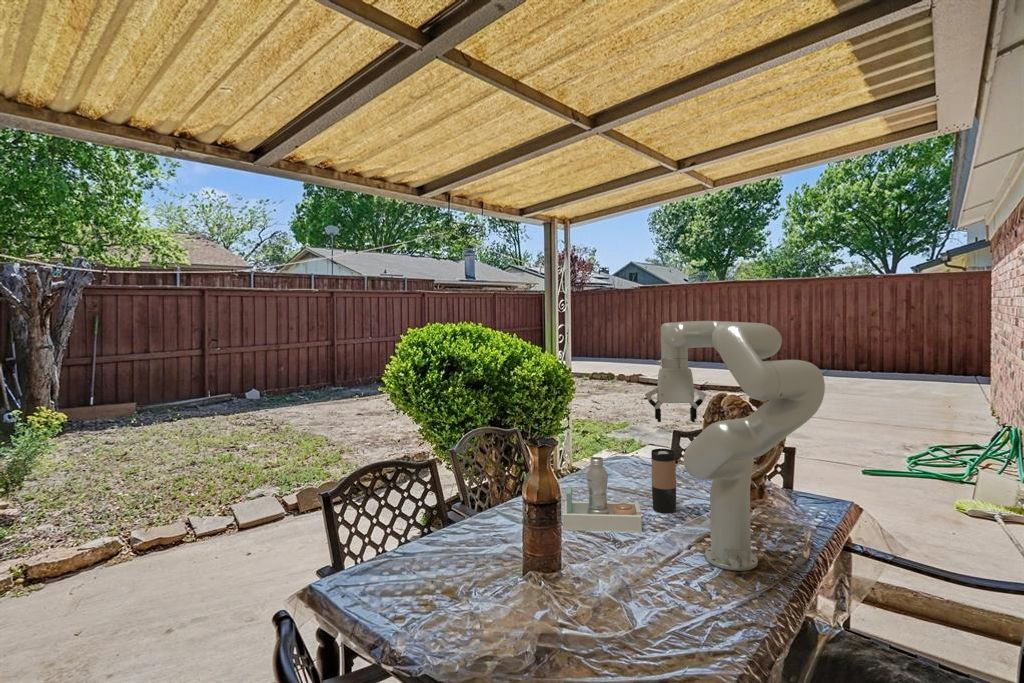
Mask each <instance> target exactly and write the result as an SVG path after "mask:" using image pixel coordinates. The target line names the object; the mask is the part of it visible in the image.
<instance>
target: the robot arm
mask: <svg viewBox="0 0 1024 683" xmlns="http://www.w3.org/2000/svg"><path fill="white" fill-rule="evenodd" d="M782 340H783V339H782V335H781V333H780V332H779V331H778V329H776V328H775V327H774V326H772V325H770V324H767V323H762V322H761V323H760V322H746V321H745V322H742V321H729V320H726V321H724V320H723V321H721V320H720V321H718V320H695V321H694V320H693V321H692V320H691V321H677V322H664V323H663V324H662V325H661V327H660V346H661V348H660V351H661V352H660V353H661V355H660V356H661V357H660V359H658V360H655V362H656V366H660V367H661V368H659V369H658V370H659V371H658V375H657V376H658V377H657V387H656V388H654V389H652V390H650V391H647V392H646V393H645V398H646V399H647V401H648V402H649V404H650V405H651V406H652V407H653V408H654V418H655V420H656V421H657V423H662V411H661V406H662V405H663V404H689V405H691V406H690V408H689V410H690V411H689V412H690V413H689V415H690V419H689V420H690V421H691V422H692V423H696V420H697V419H698V418H697V417H698V415H697V414H698V413H697V411H698V410H697V409H698V408H699V407H700V406H701V405H702V404H703V402H704V400H705V398H706V396H707V394H706V393H705V392H704V391H701V390H699V389H697V388H695V386H694V385H695V384H694V378H693V373H692V372H693V371H692V368H689V354H688V353H689V349H694V348H696V349H697V348H714V350H715V351H717V353H719V356H720V358H721V360H722V362H723V364H725V366H726V368H727V369H728V371H729V372H730V373H731V375H732V376H733V378H734V379H735V381H736V383H737V384H738V386H739V387H740V389H741V390H742V391H743V393H745V394H746V396H748V397H749V398H750V399H754V400H756V401H764V403H763V404H761V405H760V406H759V407H758V408H757V409H756V410H754V411H753V412H752V413H751V414H750V415H748V416H745V417H741V418H734V419H724V420H720V421H716V422H713V423H711V424H710V425H708V426H706V427H705V428H704V430H703V431H701V432H700V433H699V434H698V435H697V436H696V437H695V438H694V439H692V441H691V442H690V443H689V444H687V447H686V448H685V451H684V453H683V465H684V468H685V471H686V472H687V473H688V474H689V475H690V476H691V477H692V478H694V479H695V480H698V481H699V480H700V481H704V480H705V481H707V480H712V483H711V486H710V492H709V505H710V506H709V508H710V510H709V511H710V512H709V513H710V518H709V519H710V546H709V547H708V548H707V549H705V551H704V558H705V560H706V561H707V562H708V563H709V564H711V565H712V566H715V567H718V568H720V569H723V570H728V571H739V572H744V571H749V570H753V569H754V568H757V566H758V561H759V560H758V557H757V555H756V554H754V553H753V552H752V551H751V550H752V549H751V548H752V544H751V541H752V539H751V537H752V536H751V535H752V534H751V481H752V474H753V469H754V465H755V464H754V463H755V458H759V457H761V456H763V455H765V454H767V453H768V452H769V451H771V449H773V448H774V447H775V446H777V445H778V444H779V443H781V442H782V441H783V440H785V439H786V438H787V437H788V436H790V435H791V434H792V433H793V432H795V431H796V430H798V429H799V428H801V427H802V426H803V425H804V424H806V423H807V422H809V421H810V420H811V419H812V418H813V417H814V415H815V414H816V413H817V412H818V410H819V409H820V408H821V405H822V403H823V401H824V397H825V392H826V387H825V386H826V383H825V378H824V375H823V372H822V371H821V370H820V368H819V367H818V366H816V365H815V364H813V363H812V362H809V361H807V360H802V359H781V360H780V359H777V360H764V361H763V359H767V358H770V357H773V356H774V355H775V354H777V353H778V352H779V351H780V349H781V346H782V344H783V343H782V342H783V341H782ZM695 394H696V395H697V396H699V397H698V399H697V400H696V401H695ZM654 395H657V400H656V401H654V399H653V398H652V396H654ZM765 401H767V402H765Z"/></svg>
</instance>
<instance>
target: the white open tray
mask: <svg viewBox="0 0 1024 683" xmlns="http://www.w3.org/2000/svg"><path fill="white" fill-rule="evenodd" d="M619 503H620V502H608V501H607V505H608V510H609V515H606V514H587V512H588V507H589V501H572V514H567V500H566V501H564V504H563V509H562V530H563V531H585V532H586V531H587V532H589V531H592V532H618V533H619V532H623V533H642V532H643V531H642V530H643V528H642V526H643V524H642V511H641V506H640V502H639V501H638V500H634V501H633V502H626V503H627V504H630V505H632V506H633V507H634V515H614V506H615V505H616V504H619Z"/></svg>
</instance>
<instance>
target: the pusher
mask: <svg viewBox="0 0 1024 683" xmlns="http://www.w3.org/2000/svg"><path fill="white" fill-rule="evenodd" d="M572 487H573V486H572V484H567V488H566V501H567V514H572V502H573V493H572V492H573V488H572Z"/></svg>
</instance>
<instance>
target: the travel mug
mask: <svg viewBox="0 0 1024 683" xmlns="http://www.w3.org/2000/svg"><path fill="white" fill-rule="evenodd" d="M650 455H651V456H650V457H651V458H650V459H651V492H652V493H651V496H652V498H651V499H652V509H653V511H654V512H656V513H659V514H666V515H669V514H674V513H676V512H677V470H676V469H677V466H676V465H677V464H676V451H675V450H673V449H670V448H654V449H651V454H650Z"/></svg>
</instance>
